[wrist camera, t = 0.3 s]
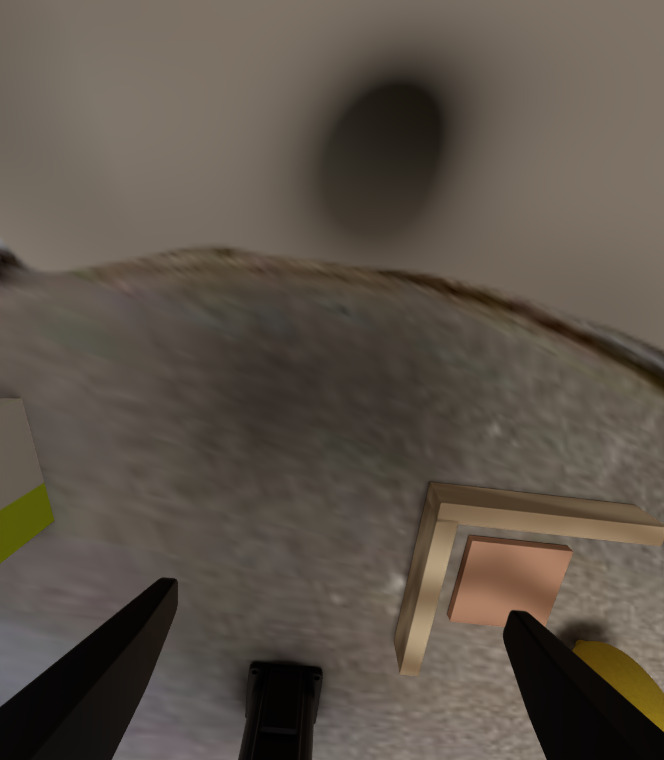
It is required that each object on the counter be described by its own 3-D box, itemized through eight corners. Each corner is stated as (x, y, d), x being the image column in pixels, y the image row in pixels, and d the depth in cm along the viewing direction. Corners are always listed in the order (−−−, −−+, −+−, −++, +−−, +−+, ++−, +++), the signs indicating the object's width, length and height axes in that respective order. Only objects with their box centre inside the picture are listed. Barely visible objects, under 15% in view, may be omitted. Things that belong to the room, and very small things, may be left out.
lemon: (596, 668, 28) (697, 808, 20) (537, 660, 28) (617, 799, 20) (620, 620, 27) (738, 751, 19) (559, 612, 27) (652, 740, 19)
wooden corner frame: (571, 658, 28) (594, 692, 25) (393, 641, 27) (399, 674, 25) (635, 505, 24) (669, 527, 22) (430, 481, 24) (441, 502, 21)
